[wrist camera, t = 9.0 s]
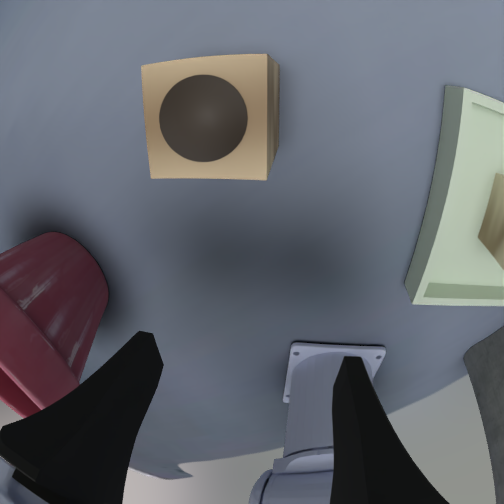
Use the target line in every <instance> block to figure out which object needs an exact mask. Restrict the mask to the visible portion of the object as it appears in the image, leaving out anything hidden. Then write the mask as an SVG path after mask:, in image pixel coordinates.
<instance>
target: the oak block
mask: <svg viewBox="0 0 504 504" xmlns="http://www.w3.org/2000/svg"><path fill="white" fill-rule="evenodd" d="M141 70H142V89H143V104H144V117H145V128H146V139H147V148H148V157H149V165H150V173H151V179H153V178H212V179H247V180H267V178H268V175H269V172H270V169H271V166H272V163H273V161H274V158H275V155H276V152H277V149H278V146H279V64H278V63H277V62H275V61H274V60H273V59H272V58H271V57H270V56H269V55H268V54H239V55H220V56H208V57H197V58H188V59H180V60H173V61H166V62H160V63H154V64H148V65H143V66H141Z"/></svg>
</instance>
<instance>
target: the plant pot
mask: <svg viewBox="0 0 504 504" xmlns="http://www.w3.org/2000/svg"><path fill="white" fill-rule="evenodd" d="M108 298H109V293H108V286H107V283H106V280H105V277H104V275H103V273H102V271H101V269H100V267H99V265H98V264H97V262H96V261H95V259H94V258H93V257H92V256H91V254H90V253H89V252H88V251H87V250H86V249H85V248H84V247H83V246H82V245H81V244H79V243H78V242H77V241H76V240H74V239H72V238H71V237H69V236H67V235H65V234H62V233H58V232H47V233H44V234H42V235H40V236H38V237H35V238H33V239H31V240H29V241H26V242H24V243H22V244H20V245H18V246H15V247H13V248H11V249H9V250H7V251H5V252H3V253H1V254H0V400H2V401H3V402H4V403H5V404H6V405H8V406H9V407H10V408H11V409H12V410H14V411H15V412H16V413H18V414H19V415H20V416H22V417H23V418H26V417H28V416H31V415H33V414H35V413H37V412H39V411H41V410H43V409H44V408H46V407H48V406H50V405H51V404H53V403H55V402H56V401H58V400H59V399H61V398H63V397H64V396H66V395H67V394H68V393H70V392H71V391H73V390H74V389H75V388H77V387H78V386H79V385H80V384H79V381H80V378H81V375H82V372H83V369H84V366H85V363H86V360H87V357H88V354H89V351H90V349H91V346H92V343H93V340H94V337H95V334H96V331H97V329H98V326H99V323H100V320H101V318H102V315H103V313H104V311H105V308H106V306H107V303H108Z"/></svg>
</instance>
